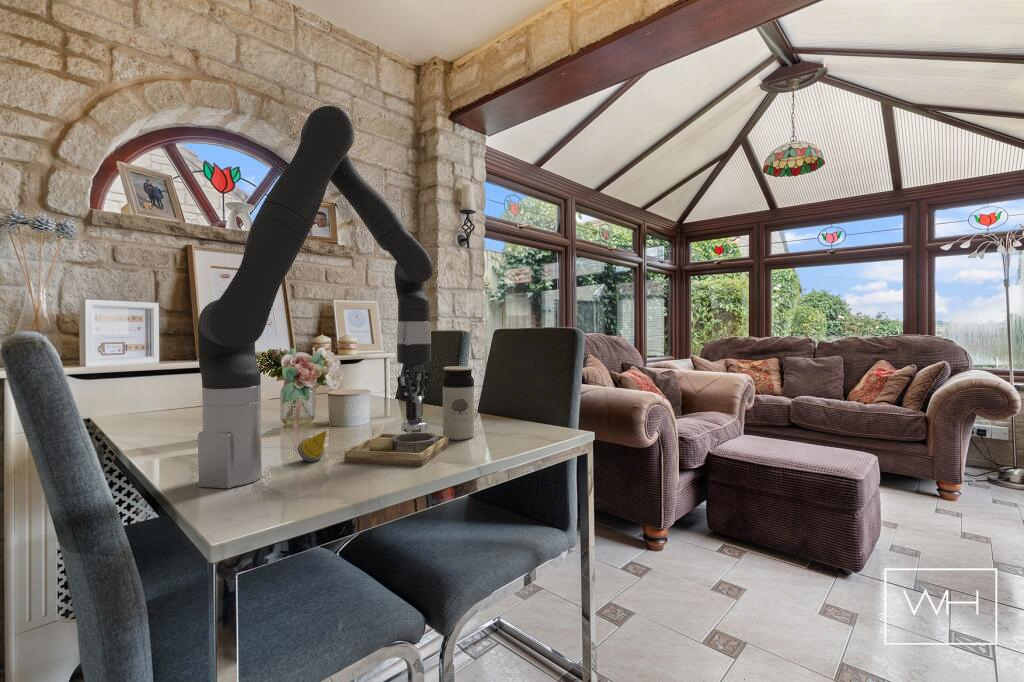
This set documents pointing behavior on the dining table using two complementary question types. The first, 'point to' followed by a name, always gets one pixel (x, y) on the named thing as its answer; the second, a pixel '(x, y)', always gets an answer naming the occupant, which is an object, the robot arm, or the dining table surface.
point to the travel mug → (458, 403)
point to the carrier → (397, 449)
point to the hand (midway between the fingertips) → (414, 417)
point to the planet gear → (415, 424)
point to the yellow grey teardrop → (312, 448)
